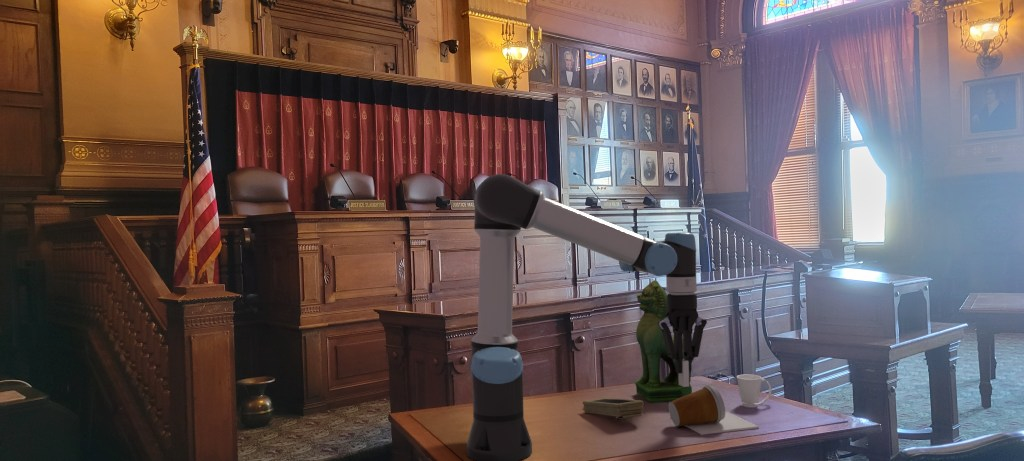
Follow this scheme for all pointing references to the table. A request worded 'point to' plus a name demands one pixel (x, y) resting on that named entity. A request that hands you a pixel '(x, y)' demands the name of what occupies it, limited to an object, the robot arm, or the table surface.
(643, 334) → the lion statue
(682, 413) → the disposable coffee cup
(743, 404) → the cup
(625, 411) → the box
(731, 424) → the felt mat
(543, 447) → the table surface
